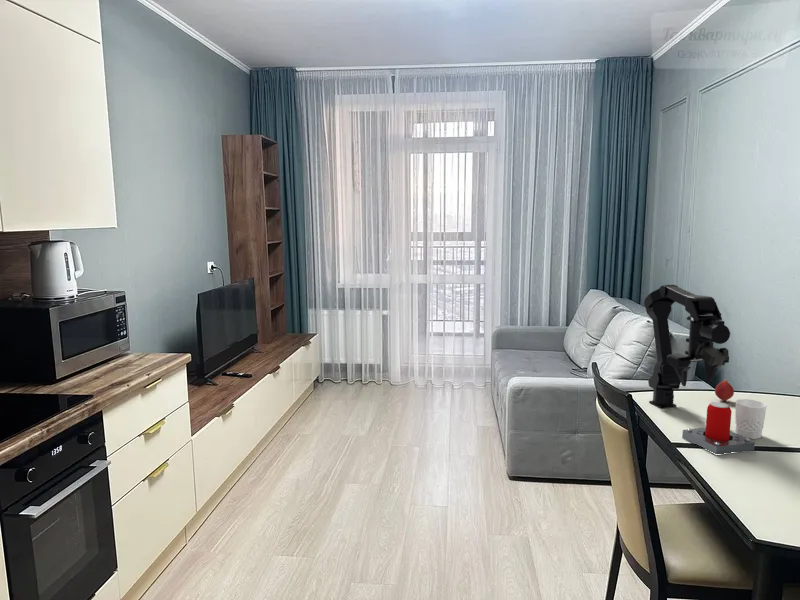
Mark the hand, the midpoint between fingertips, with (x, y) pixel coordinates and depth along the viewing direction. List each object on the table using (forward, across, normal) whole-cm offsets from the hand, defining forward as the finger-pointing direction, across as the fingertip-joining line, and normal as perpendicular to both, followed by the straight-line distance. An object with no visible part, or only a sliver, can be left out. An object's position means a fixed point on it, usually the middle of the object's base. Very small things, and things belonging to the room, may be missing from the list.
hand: (696, 384), depth 178 cm
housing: (+13, -5, -15) cm, 20 cm away
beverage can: (+13, -5, -15) cm, 20 cm away
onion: (+13, +26, +15) cm, 33 cm away
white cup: (+13, +9, -12) cm, 20 cm away
